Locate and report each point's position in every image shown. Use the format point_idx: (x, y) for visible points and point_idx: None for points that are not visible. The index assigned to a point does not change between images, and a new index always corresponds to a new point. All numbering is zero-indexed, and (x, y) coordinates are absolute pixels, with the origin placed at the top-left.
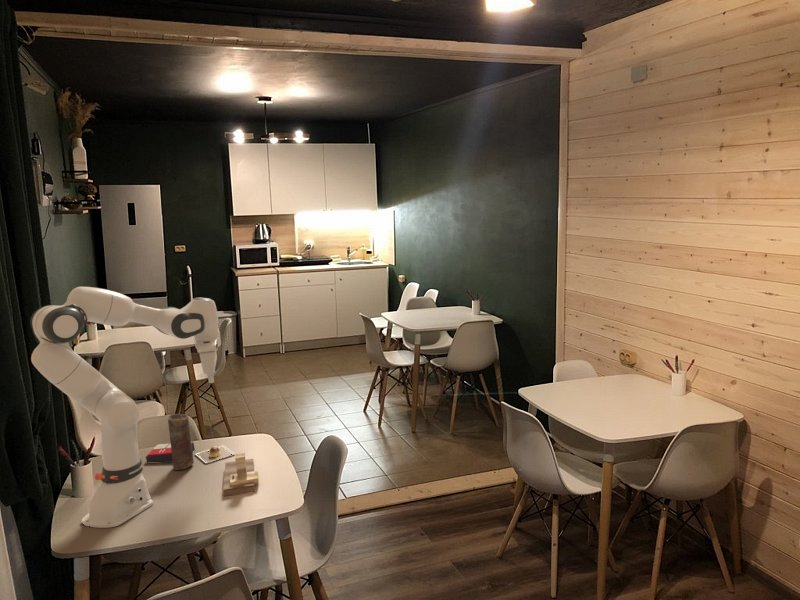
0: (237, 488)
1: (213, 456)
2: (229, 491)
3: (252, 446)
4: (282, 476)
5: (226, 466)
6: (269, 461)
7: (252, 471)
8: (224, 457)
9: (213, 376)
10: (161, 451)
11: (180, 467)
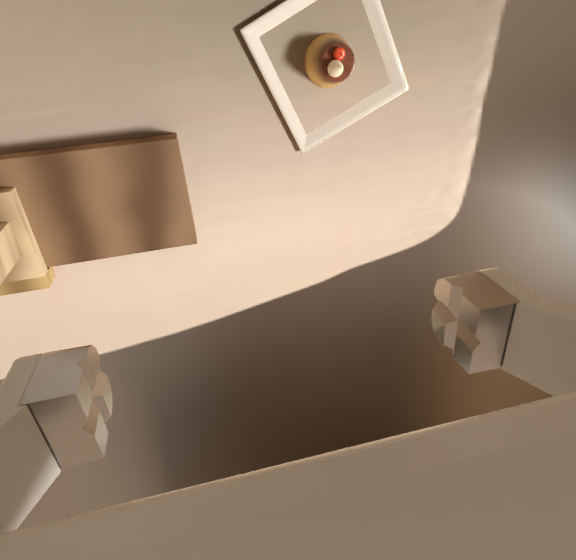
0: None
1: (307, 58)
2: None
3: (360, 204)
4: (87, 334)
5: (136, 149)
6: (213, 279)
7: (75, 259)
8: (281, 111)
9: (25, 501)
10: None
11: None
